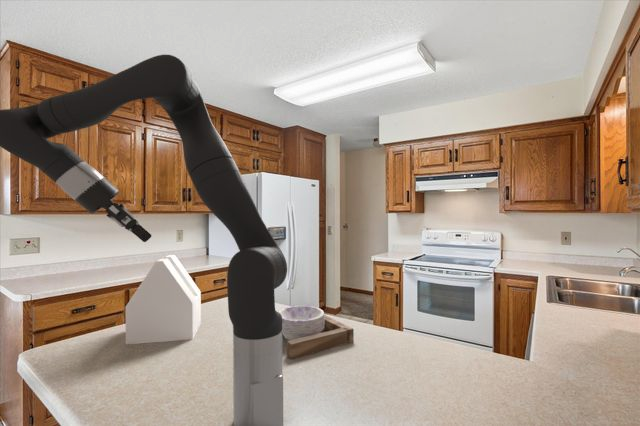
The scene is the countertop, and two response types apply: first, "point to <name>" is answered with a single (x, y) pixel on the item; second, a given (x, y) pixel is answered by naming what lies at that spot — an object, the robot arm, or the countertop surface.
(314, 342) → the walnut bay
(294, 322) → the paper bowls
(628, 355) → the countertop surface
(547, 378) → the countertop surface
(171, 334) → the white house shaped block
